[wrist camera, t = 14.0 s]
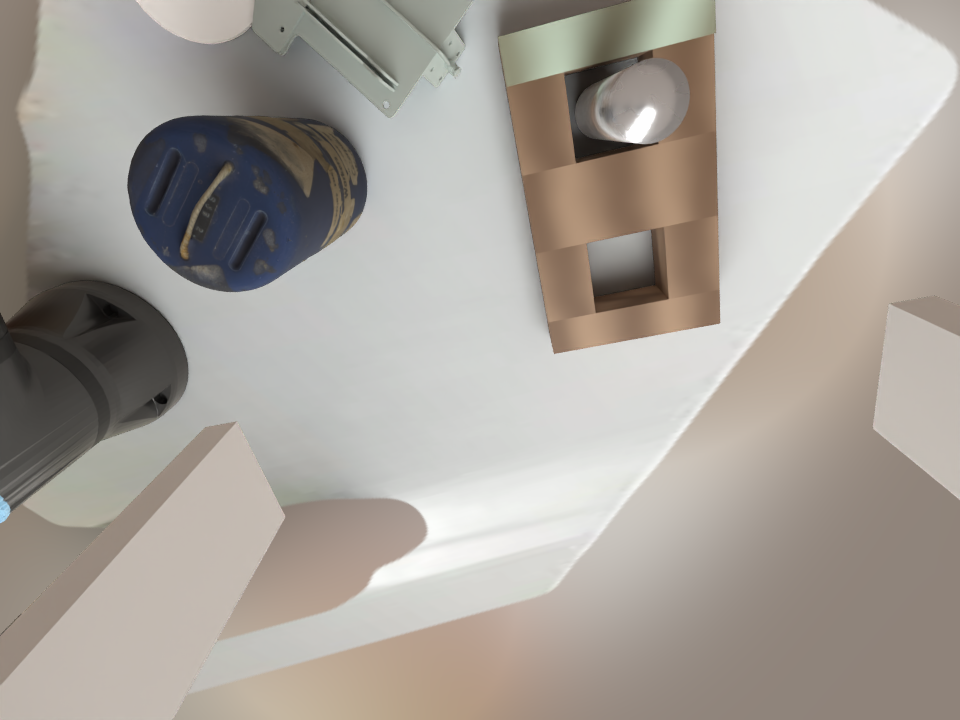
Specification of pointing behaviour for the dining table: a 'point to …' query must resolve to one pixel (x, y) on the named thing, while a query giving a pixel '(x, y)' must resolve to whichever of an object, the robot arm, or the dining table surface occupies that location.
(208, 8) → the white upright piece
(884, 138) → the dining table surface
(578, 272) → the pin plate
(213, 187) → the canister
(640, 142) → the steel pin
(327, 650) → the dining table surface
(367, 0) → the metal bracket
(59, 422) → the robot arm
